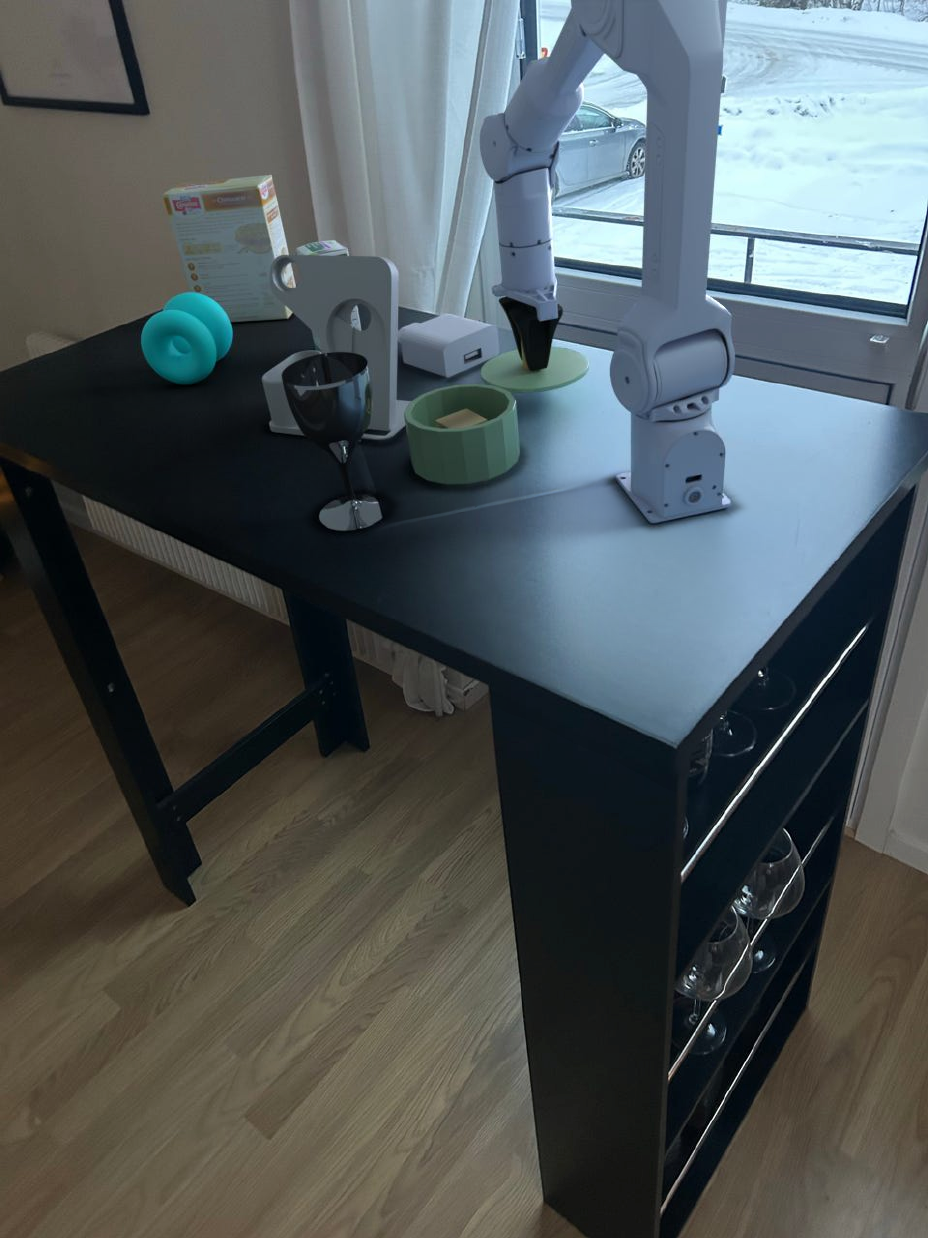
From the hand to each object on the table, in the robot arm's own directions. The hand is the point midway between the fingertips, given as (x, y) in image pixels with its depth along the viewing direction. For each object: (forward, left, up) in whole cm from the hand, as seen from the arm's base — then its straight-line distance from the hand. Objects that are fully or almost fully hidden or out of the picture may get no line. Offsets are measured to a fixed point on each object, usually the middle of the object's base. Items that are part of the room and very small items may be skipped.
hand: (534, 363), depth 105 cm
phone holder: (+6, +22, -5) cm, 23 cm away
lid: (0, 0, -1) cm, 1 cm away
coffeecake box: (+53, +32, -5) cm, 62 cm away
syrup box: (+28, +20, -5) cm, 35 cm away
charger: (+20, +8, -5) cm, 22 cm away
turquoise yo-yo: (+31, +40, -5) cm, 51 cm away
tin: (-11, +11, -5) cm, 16 cm away
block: (-11, +11, -5) cm, 16 cm away
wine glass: (-17, +24, -5) cm, 30 cm away
